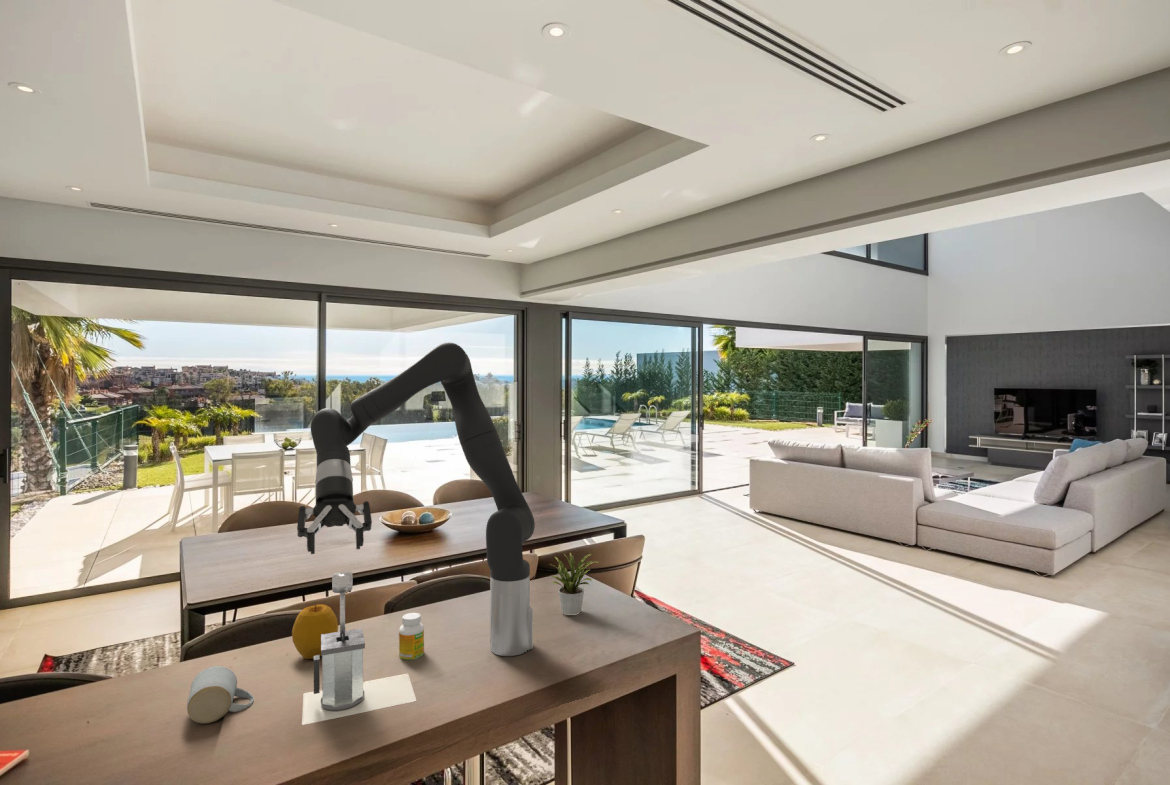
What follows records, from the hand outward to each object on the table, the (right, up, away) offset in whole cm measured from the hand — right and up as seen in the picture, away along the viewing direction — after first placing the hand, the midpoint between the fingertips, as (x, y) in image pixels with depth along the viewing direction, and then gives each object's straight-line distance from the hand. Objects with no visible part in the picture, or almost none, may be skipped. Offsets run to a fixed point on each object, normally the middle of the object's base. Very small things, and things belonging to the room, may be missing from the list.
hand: (335, 549), depth 120 cm
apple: (-11, -29, +15) cm, 34 cm away
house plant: (+48, -28, +42) cm, 70 cm away
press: (+4, -28, -5) cm, 28 cm away
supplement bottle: (+11, -29, +14) cm, 34 cm away
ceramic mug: (-19, -29, -8) cm, 35 cm away
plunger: (+4, -18, -6) cm, 19 cm away
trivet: (+6, -29, -4) cm, 30 cm away
